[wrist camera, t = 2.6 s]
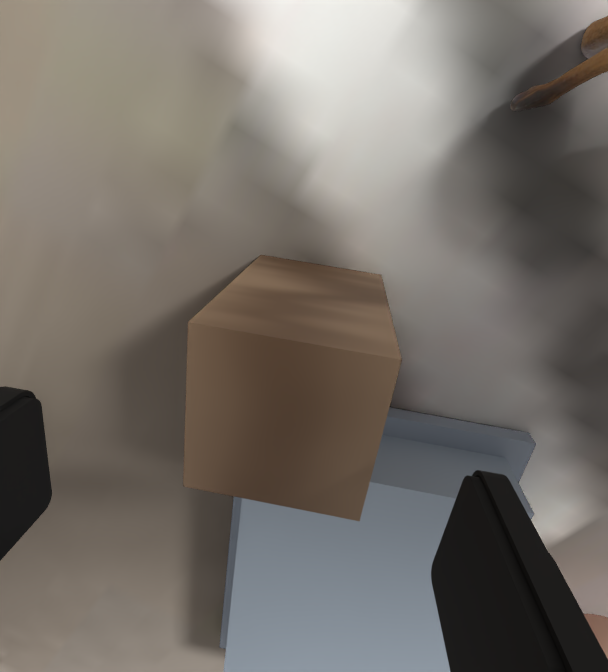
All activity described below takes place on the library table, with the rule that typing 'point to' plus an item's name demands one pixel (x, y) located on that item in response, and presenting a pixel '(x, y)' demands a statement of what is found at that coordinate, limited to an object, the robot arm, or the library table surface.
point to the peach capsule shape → (599, 629)
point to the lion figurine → (603, 55)
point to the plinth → (359, 558)
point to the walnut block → (290, 386)
